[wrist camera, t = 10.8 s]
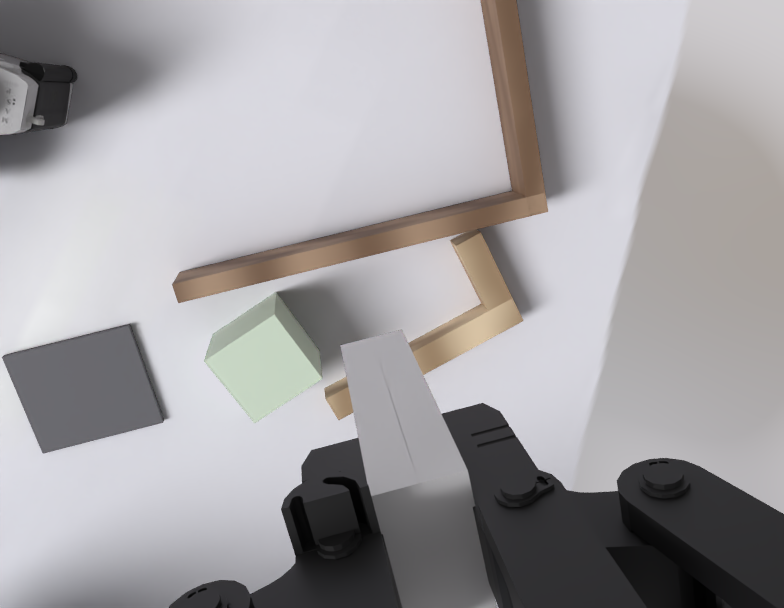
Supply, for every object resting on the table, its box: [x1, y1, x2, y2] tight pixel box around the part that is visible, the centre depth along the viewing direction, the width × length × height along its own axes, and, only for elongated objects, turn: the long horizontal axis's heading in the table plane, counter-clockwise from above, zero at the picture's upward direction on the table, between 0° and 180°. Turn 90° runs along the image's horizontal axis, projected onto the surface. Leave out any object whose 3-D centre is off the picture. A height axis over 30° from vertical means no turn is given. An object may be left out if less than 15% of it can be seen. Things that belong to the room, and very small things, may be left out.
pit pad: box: [2, 324, 164, 453], centre depth 46 cm, size 8×7×1 cm
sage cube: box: [204, 292, 323, 423], centre depth 45 cm, size 5×5×5 cm
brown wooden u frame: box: [172, 0, 548, 303], centre depth 41 cm, size 23×22×3 cm
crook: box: [324, 229, 523, 420], centre depth 47 cm, size 14×7×2 cm, turn 117°
